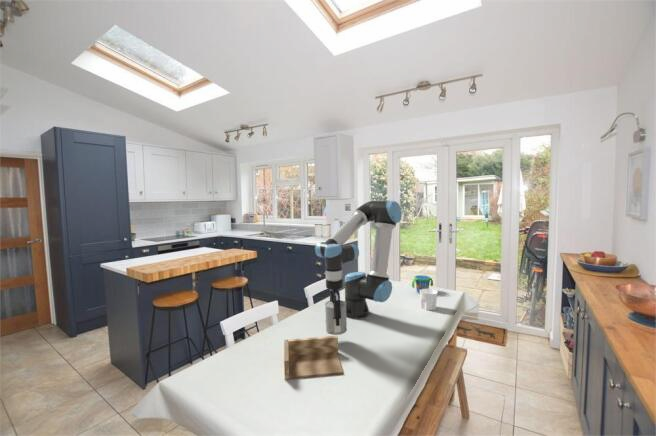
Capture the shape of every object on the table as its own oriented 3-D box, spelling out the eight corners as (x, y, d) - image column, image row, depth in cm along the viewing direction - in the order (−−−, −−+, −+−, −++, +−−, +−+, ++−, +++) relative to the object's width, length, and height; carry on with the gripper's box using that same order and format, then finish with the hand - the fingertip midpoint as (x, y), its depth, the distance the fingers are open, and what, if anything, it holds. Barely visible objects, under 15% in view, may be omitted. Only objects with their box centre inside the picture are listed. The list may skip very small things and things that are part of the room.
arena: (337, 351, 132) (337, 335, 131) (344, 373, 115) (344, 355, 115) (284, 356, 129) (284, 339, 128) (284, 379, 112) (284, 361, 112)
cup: (440, 308, 180) (441, 291, 179) (429, 312, 174) (430, 295, 173) (426, 303, 188) (426, 287, 187) (415, 307, 182) (415, 290, 182)
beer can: (332, 336, 134) (331, 309, 133) (322, 328, 142) (321, 302, 141) (350, 331, 138) (350, 305, 137) (340, 323, 147) (339, 298, 145)
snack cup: (428, 288, 218) (428, 274, 217) (437, 293, 207) (437, 278, 207) (408, 290, 214) (408, 275, 214) (415, 295, 204) (415, 280, 203)
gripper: (322, 272, 148) (324, 317, 151) (329, 287, 126) (331, 339, 129) (338, 271, 149) (339, 316, 152) (347, 285, 127) (348, 337, 130)
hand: (335, 326), depth 140 cm, fingers closed on beer can, 9 cm apart
